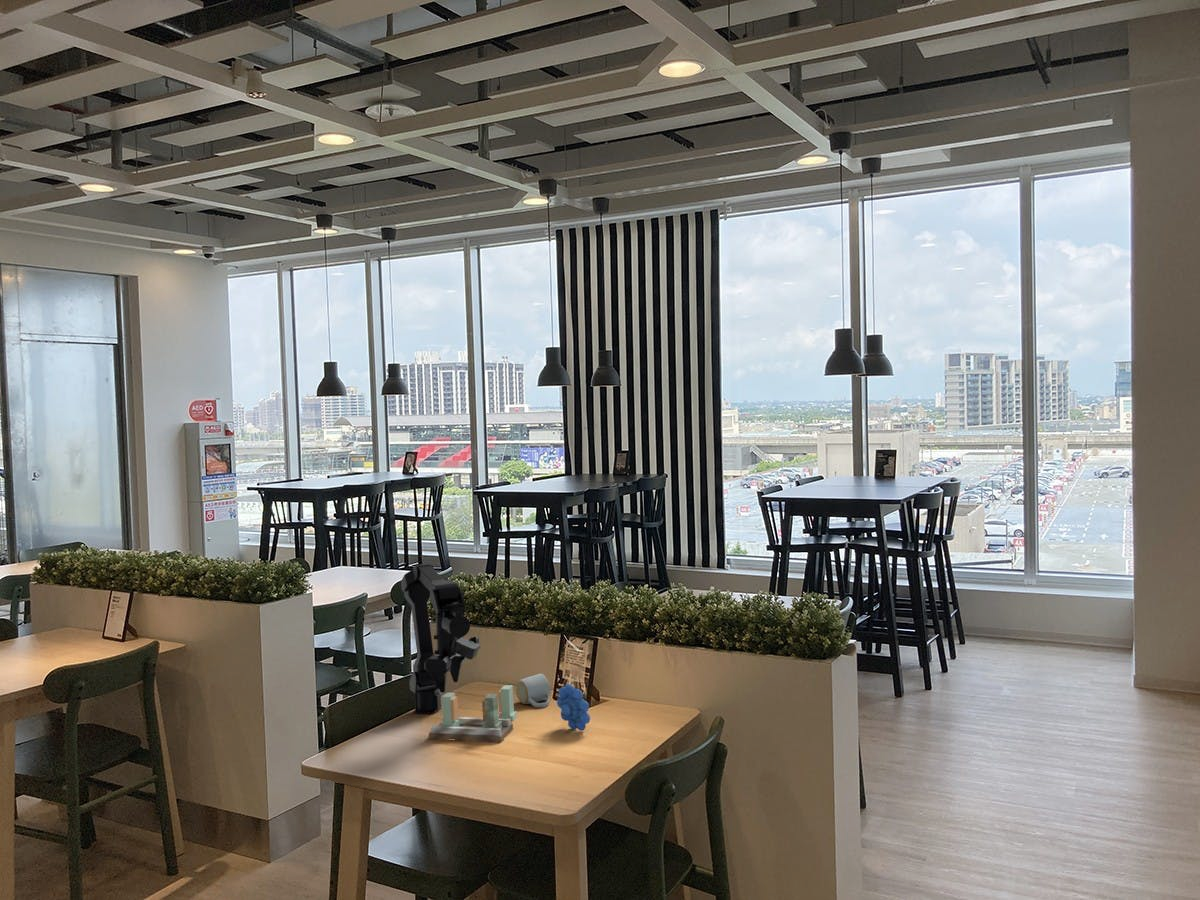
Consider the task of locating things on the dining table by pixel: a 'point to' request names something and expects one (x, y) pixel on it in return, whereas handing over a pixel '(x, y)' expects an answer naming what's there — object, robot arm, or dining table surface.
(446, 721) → the stepped sage green block
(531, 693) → the ceramic mug
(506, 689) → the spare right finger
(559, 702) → the grapes
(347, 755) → the dining table surface
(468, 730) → the rail board
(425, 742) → the dining table surface
